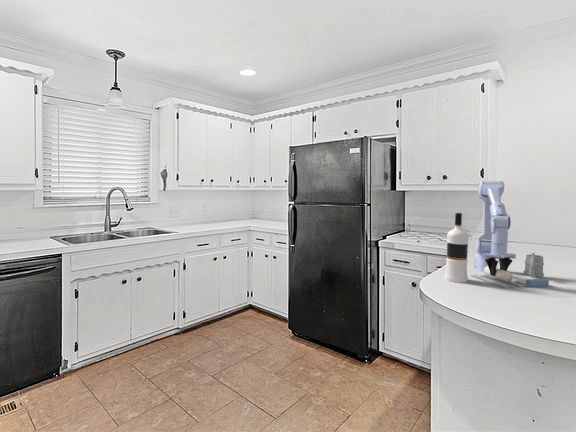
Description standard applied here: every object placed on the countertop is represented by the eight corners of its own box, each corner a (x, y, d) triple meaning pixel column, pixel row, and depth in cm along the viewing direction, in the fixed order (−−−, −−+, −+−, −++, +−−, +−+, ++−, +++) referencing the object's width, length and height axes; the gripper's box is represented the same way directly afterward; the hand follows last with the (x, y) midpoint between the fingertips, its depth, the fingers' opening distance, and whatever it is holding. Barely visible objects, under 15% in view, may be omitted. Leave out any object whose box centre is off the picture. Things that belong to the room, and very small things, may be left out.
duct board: (470, 277, 157) (470, 270, 157) (513, 276, 160) (514, 269, 160) (503, 290, 138) (503, 281, 137) (552, 288, 141) (552, 280, 140)
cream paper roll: (483, 274, 154) (483, 265, 154) (491, 274, 154) (492, 265, 154) (503, 282, 142) (504, 272, 142) (512, 281, 143) (513, 272, 142)
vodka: (439, 280, 153) (441, 212, 151) (455, 278, 156) (458, 212, 154) (456, 285, 144) (459, 213, 142) (472, 283, 147) (476, 213, 145)
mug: (544, 276, 160) (546, 251, 159) (541, 281, 151) (543, 254, 150) (524, 274, 165) (526, 249, 164) (521, 278, 156) (522, 252, 155)
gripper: (490, 245, 142) (488, 278, 143) (522, 245, 144) (520, 277, 145) (478, 242, 149) (477, 274, 150) (509, 242, 151) (507, 273, 152)
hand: (497, 275), depth 148 cm, fingers closed on cream paper roll, 4 cm apart
